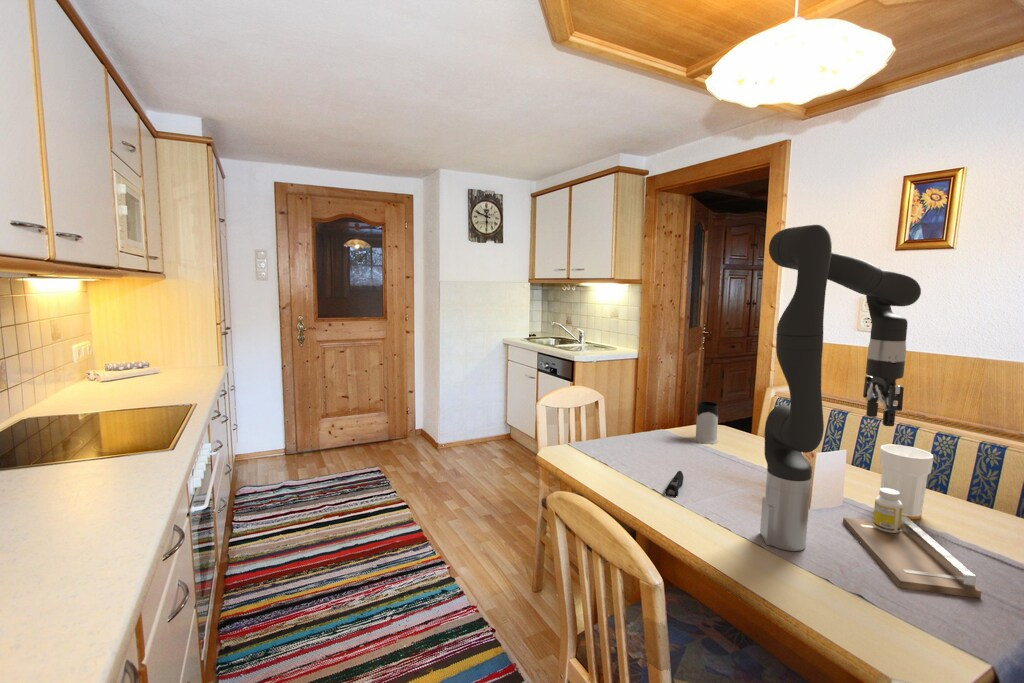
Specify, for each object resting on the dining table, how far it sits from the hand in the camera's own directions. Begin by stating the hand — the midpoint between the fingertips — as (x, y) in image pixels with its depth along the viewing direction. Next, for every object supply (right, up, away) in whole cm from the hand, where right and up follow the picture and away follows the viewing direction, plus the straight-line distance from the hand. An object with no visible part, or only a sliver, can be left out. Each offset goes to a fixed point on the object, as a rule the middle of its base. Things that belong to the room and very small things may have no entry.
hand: (879, 420), depth 122 cm
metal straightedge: (+3, -28, -12) cm, 31 cm away
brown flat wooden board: (-2, -30, -10) cm, 31 cm away
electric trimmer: (-43, -25, +27) cm, 57 cm away
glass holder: (-15, -19, +73) cm, 77 cm away
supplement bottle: (+1, -27, -1) cm, 27 cm away
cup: (+14, -27, +11) cm, 33 cm away
